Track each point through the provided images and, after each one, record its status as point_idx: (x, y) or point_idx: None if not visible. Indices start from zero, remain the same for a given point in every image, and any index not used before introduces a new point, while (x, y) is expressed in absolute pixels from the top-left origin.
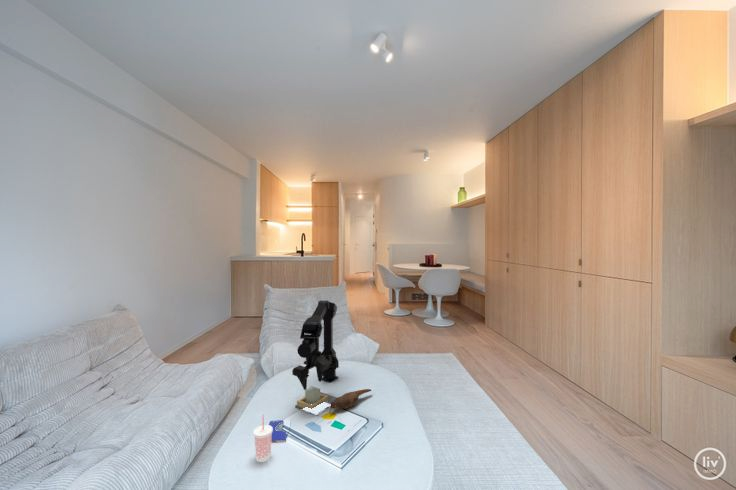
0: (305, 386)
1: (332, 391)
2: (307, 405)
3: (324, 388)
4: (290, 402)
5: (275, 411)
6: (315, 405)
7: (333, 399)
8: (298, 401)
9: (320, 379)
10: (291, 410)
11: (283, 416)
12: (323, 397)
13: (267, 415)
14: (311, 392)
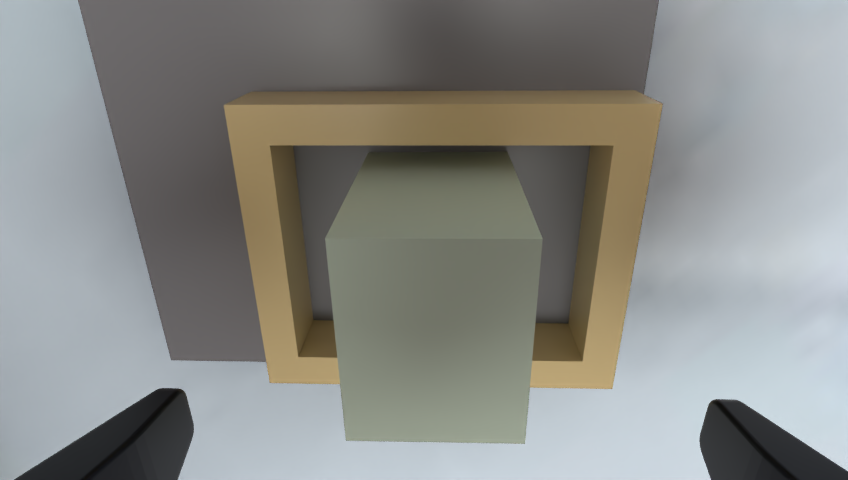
0: (835, 465)
1: (15, 242)
2: (642, 194)
3: (52, 365)
4: (524, 451)
5: None
6: (557, 100)
7: (169, 38)
8: (614, 364)
9: (150, 425)
10: (660, 343)
11: (810, 330)
12: (311, 140)
13: (842, 460)
14: (533, 299)
